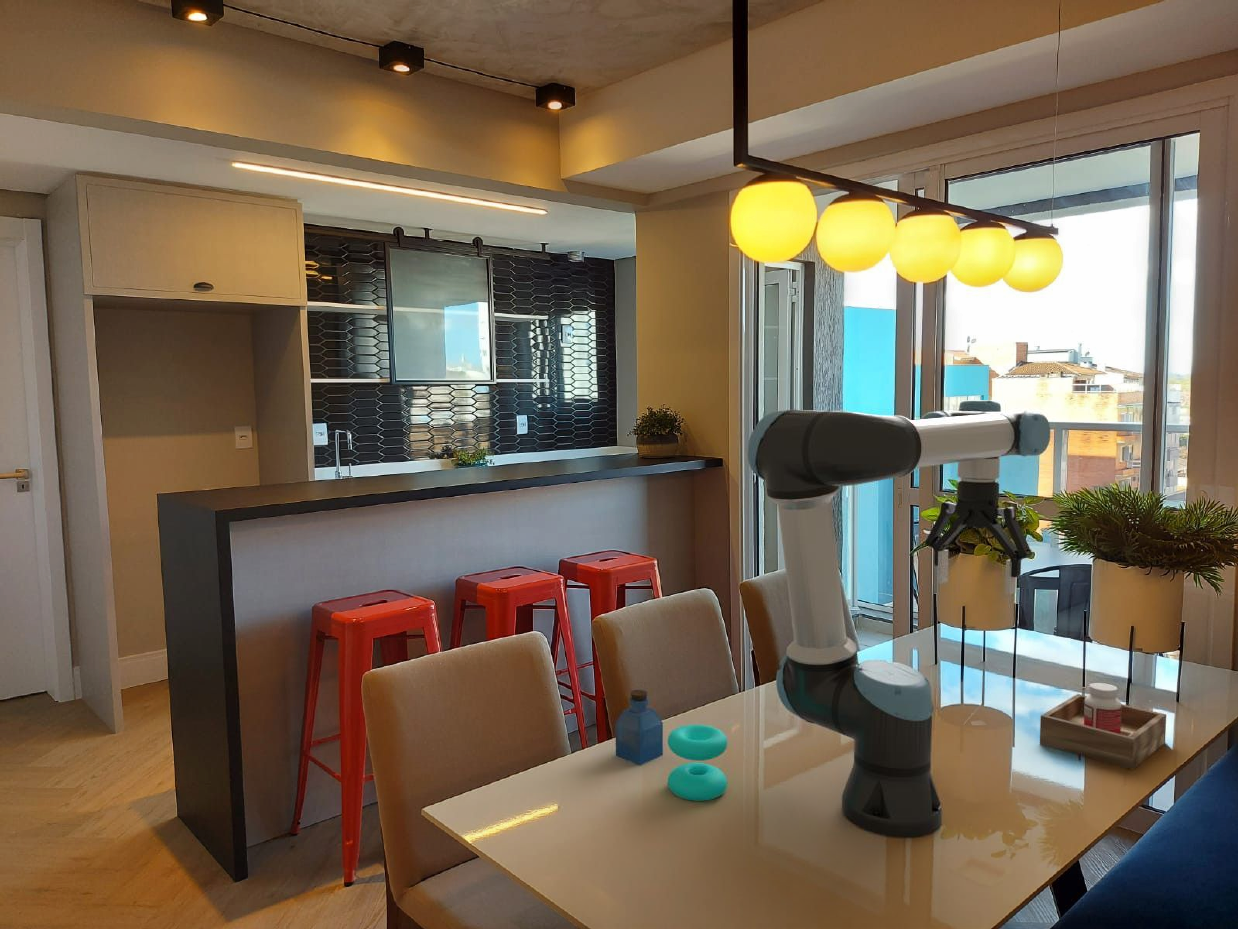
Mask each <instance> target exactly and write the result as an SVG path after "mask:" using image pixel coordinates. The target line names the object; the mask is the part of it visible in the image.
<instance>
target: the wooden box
mask: <svg viewBox="0 0 1238 929" xmlns="http://www.w3.org/2000/svg"><path fill="white" fill-rule="evenodd" d="M1086 696H1087V695H1084V694H1080V693H1077V694H1075V695H1073V696H1071V697H1070V698H1068V699H1067V700H1065V701H1063V702H1062V703H1059V704H1058V705H1057V706H1054V707H1053V708H1051V709H1049V710H1048V711H1046V712H1045V713H1042V714H1041V715H1040V719H1039V721H1040V723H1039V724H1040V725H1039V726H1040V727H1039V744H1040V745H1042V746H1046V747H1049V748H1053V749H1057V750H1060V751H1064V752H1068V753H1072V754H1074V755H1078V756H1081V757H1082V756H1083V757H1084V758H1085V757H1086V758H1089V759H1093V760H1097V761H1099V762H1103V763H1107V764H1110V765H1113V766H1118V767H1121V768H1124V769H1129V770H1134V769H1136V767H1138V766H1139V765H1140V764H1141V763H1143V761H1145V760H1146V759H1148V757H1149V756H1151V755H1152V754H1153V753H1154V752H1156V751H1157V750H1158V749H1159V748H1160V747H1162V746H1163V745H1164V744H1165V743H1166V735H1167V733H1166V731H1167V714H1166V713H1162V712H1158V711H1153V710H1149V709H1144V708H1140V707H1136V706H1131V705H1127V704H1122V703H1121V734H1118V733H1114V732H1110V731H1106V730H1102V729H1098V728H1094V727H1090V726H1086V725H1084V702H1085V698H1086Z"/></svg>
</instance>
